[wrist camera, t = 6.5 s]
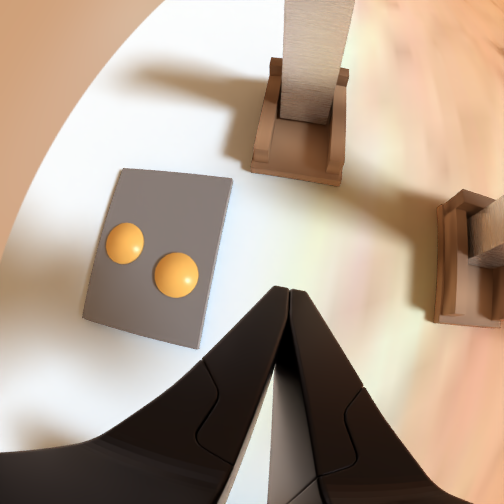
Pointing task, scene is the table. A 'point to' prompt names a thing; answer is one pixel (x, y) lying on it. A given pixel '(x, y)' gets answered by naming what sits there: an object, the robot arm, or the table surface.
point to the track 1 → (300, 137)
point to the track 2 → (465, 269)
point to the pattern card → (158, 255)
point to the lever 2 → (487, 236)
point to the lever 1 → (312, 56)
